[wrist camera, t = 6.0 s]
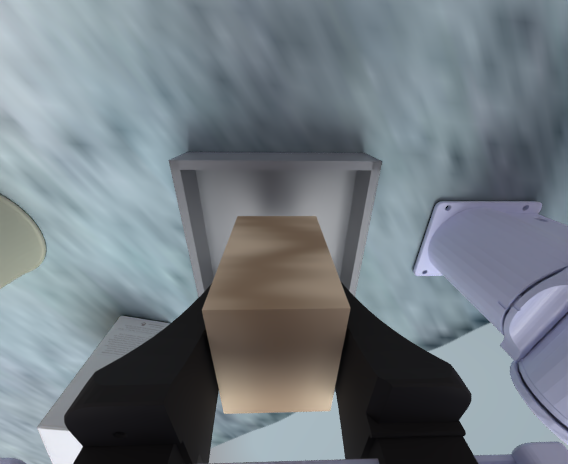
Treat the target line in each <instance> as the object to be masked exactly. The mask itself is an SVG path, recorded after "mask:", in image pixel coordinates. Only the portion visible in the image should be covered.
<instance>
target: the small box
mask: <svg viewBox="0 0 568 464" xmlns="http://www.w3.org/2000/svg"><path fill="white" fill-rule="evenodd" d="M168 325H170V323H165V322H159V321H152V320H146V319H140V318H134V317H128V316H120V317H119V318H118V320H117V321H116V322H115V324H114V325H113V326H112V328H111V329H110V330H109V332H108V333H107V334H106V336H105V337H104V338H103V340H102V341H101V342H100V344H99V345H98V346H97V348H96V349H95V350H94V352H93V353H92V354H91V356H90V357H89V358H88V360H87V361H86V362H85V364H84V365H83V366H82V368H81V369H80V370H79V372H78V373H77V374H76V376H75V377H74V378H73V380H72V381H71V382H70V384H69V385H68V386H67V388H66V389H65V390H64V392H63V393H62V394H61V396H60V397H59V398H58V400H57V401H56V403H55V404H54V405H53V406H52V408H51V409H50V410H49V412H48V413H47V414H46V416H45V417H44V418H43V420H42V421H41V422H40V424H39V425H38V426H37V429H38V431H39V433H40V436H41V438H42V440H43V443H44V445H45V447H46V450H47V452H48V454H49V457H50V459H51V462H52V464H73V463H74V461H75V459H76V458H77V456H78V454H79V452H80V451H81V449H82V447H83V446H82V445H81V444H80V443H79V442H78V440H77V439H76V438H75V437H74V436H73V435H72V434H71V432H70V431H69V430H68V429H67V427H66V426H65V423H64V415H65V413H66V412H67V410H68V409H69V408H70V406H71V405H72V403H73V402H74V400H75V399H76V397H77V396H78V394H79V393H80V392H81V390H82V389H83V387H84V386H85V384H86V383H87V382H88V380H89V379H90V378H91V376H92V375H93V374H94V372H95V371H97V370H99V369H101V368H103V367H105V366H106V365H108V364H110V363H112V362H113V361H115V360H117V359H119V358H121V357H122V356H124V355H126V354H127V353H129V352H131V351H132V350H134V349H135V348H137V347H139V346H140V345H142V344H143V343H145V342H146V341H148V340H149V339H151V338H152V337H153V336H155V335H156V334H157V333H159V332H160V331H161V330H163V329H164V328H166V327H167V326H168Z"/></svg>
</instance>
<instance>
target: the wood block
mask: <svg viewBox="0 0 568 464" xmlns="http://www.w3.org/2000/svg"><path fill="white" fill-rule="evenodd" d="M202 313H203V318H204V323H205V327H206V332H207V336H208V341H209V346H210V350H211V355H212V360H213V364H214V369H215V374H216V378H217V383H218V388H219V392H220V397H221V402H222V406H223V411H224V414H233V413H272V412H312V411H330V409H331V404H332V400H333V395H334V389H335V384H336V379H337V374H338V369H339V364H340V359H341V354H342V349H343V344H344V339H345V334H346V329H347V324H348V319H349V314H350V305H349V303H348V300H347V297H346V295H345V292H344V289H343V287H342V284H341V281H340V279H339V276H338V273H337V271H336V268H335V265H334V263H333V260H332V257H331V255H330V252H329V249H328V246H327V244H326V241H325V238H324V236H323V233H322V230H321V228H320V225H319V222H318V220H317V217H316V216H237V219H236V222H235V224H234V227H233V229H232V232H231V235H230V237H229V240H228V243H227V245H226V248H225V250H224V253H223V256H222V258H221V261H220V264H219V266H218V269H217V272H216V274H215V277H214V279H213V282H212V285H211V287H210V290H209V293H208V295H207V298H206V301H205V303H204V306H203V308H202Z"/></svg>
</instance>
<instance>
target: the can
mask: <svg viewBox="0 0 568 464" xmlns="http://www.w3.org/2000/svg"><path fill="white" fill-rule="evenodd" d="M45 255H46V244H45V240H44V237H43V235H42V233H41V231H40V230H39V228H38V226H37V225H36V224H35V222H34V221H33V220H32V219H31V218H30V216H29V215H27V214H26V213H25V212H24V211H23V210H22V209H21V208H20V207H18V206H17V205H16V204H14V203H13V202H12V201H10V200H8V199H7V198H5V197H4V196H2V195H0V289H1V288H2V287H4V286H6V285H7V284H9V283H10V282H12V281H14V280H15V279H17V278H19V277H20V276H22V275H24V274H25V273H28V272H30V271H32V270H34V269H36V268H37V267H39V266H40V264H41V263H42V262H43V260H44V258H45Z"/></svg>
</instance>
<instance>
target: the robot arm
mask: <svg viewBox="0 0 568 464" xmlns="http://www.w3.org/2000/svg"><path fill="white" fill-rule="evenodd" d="M446 206H448V208H446ZM445 208H446V209H445ZM541 208H542V203H540V202H537V201H441V202H438V203H437V204H436V205H435V207H434V210H433V213H432V216H431V219H430V222H429V225H428V228H427V231H426V234H425V237H424V240H423V243H422V246H421V249H420V252H419V255H418V258H417V261H416V264H415V267H414V270H413V272H414V274H415V275H416V276H444V277H445V278H446V279H447V280H448V281H449V282H450V283H451V284H452V285H453V286H454V287H455V288H456V289H457V290H458V291H459V292H460V293H461V294H462V295H463V296H464V297H465V298H466V299H467V300H468V301H470V302H471V303H472V304H473V305H474V306H475V307H476V308H477V309H478V310H479V311H480V312H481V313H482V314H483V315H484V316H485V317H486V318H487V319H488V320H489V321H490V322H491V323H492V324H493V325H494V326H495V327H496V328H497V329H498V330H499V331H500V332H501V333H502V334H503V335H504V336H505V337H504V340H503V342H502V343H501V344H500V346H501V347H502V348H503V349H504V350H505V351H506V352H507V353H508V355H509V356H511V358H512V359H513V360H514V361H513V362H512V363H511V366H510V375H511V379H512V381H513V383H514V385H515V387H516V389H517V391H518V392H519V394H520V395H521V397H522V398H523V400H524V401H525V402H526V404H527V405H528V407H529V408H530V409H531V410H532V412H533V413H534V414H535V415H536V416H537V417H538V419H539V420H540V421H541V422H542V423H543V424H544V425H546V427H547V428H548V429H550V430H551V431H552V432H553V433H554V434H555V435H556V436H558V437H559V438H560V439H561V440H562V441H563V442H565V443H566V444H567V445H568V226H567V225H565V224H562V223H560V222H557V221H555V220H552V219H550V218H547V217H544V216H542V215H539V214H538V213H539V212H540V210H541ZM424 270H425V271H424ZM341 284H342V287H343V289H344V292H345V295H346V297H347V300H348V303H349V305H350V314H349V319H348V324H347V329H346V334H345V339H344V344H343V349H342V354H341V359H340V364H339V369H338V374H337V379H336V384H335V389H336V395H337V402H338V408H339V415H340V422H341V429H342V436H343V444H344V452H345V459H344V460H314V461H312V460H311V461H279V462H246V463H214V464H568V450H567V449H566V447H565V446H564V445H563V444H562V443H560V442H531V443H525V444H521V445H519V446H517V447H516V448H515V449H514V450H513V452H512V454H507V455H475V456H474V455H473V453H472V452H471V450H470V448H469V447H468V444H467V443H466V441H465V439H464V438H463V436H465V434H466V433H465V430H464V428H463V427H462V425H461V423H460V421H459V419H460V418H461V416H462V415H463V414H464V412H465V411H466V410H467V408H468V406H469V405H470V402H471V393H470V391H469V390H468V388H467V387H466V385H465V384H464V382H463V381H462V379H461V378H460V376H459V375H458V374H457V372H456V371H455V369H454V368H453V367H452V366H451V364H449V363H447V362H445V361H443V360H442V359H439V358H438V357H436V356H434V355H432V354H431V353H429V352H427V351H425V350H423V349H422V348H420V347H419V346H417V345H415V344H414V343H412V342H410V341H409V340H407V339H406V338H404V337H403V336H401V335H400V334H398V333H397V332H396V331H394V330H393V329H391V328H390V327H389V326H387V325H386V324H385V323H383V322H382V321H381V320H380V319H378V318H377V317H376V316H375V315H374V314H372V313H371V312H370V311H369V310H368V309H367V308H366V307H364V306H363V305H362V304H361V303H360V302H359V301H358V300H357V299H356V298H355V297H354V295H353V294H352V293H351V292H350V291H349V290H348V289H347V288H346V287H345V286H344V284H343V283H342V282H341ZM211 285H212V283H211ZM211 285H210V286H209V287H208V288H207V289H206V290H205V291H204V292H203V294H202V295H201V296H200V297H199V298H198V299H197V300H196V301H195V302H194V303H193V304H192V305H191V306H190V307H189V308H188V309H187V310H186V311H185V312H184V313H182V314H181V315H180V316H179V317H178V318H177V319H176V320H174V321H173V322H172V323H171V324H170V325H168V326H167V327H166V328H164V329H163V330H161V331H160V332H159V333H157V334H156V335H155V336H153V337H152V338H151V339H149V340H148V341H146V342H145V343H143V344H142V345H140V346H139V347H137V348H135V349H134V350H132V351H131V352H129V353H127V354H126V355H124V356H122V357H121V358H119V359H117V360H115V361H113V362H112V363H110V364H108V365H106V366H105V367H103V368H101V369H99V370H97V371H95V372H94V374H93V375H92V376H91V378H90V379H89V380H88V382H87V383H86V384H85V386H84V387H83V389H82V390H81V392H80V393H79V394H78V396H77V397H76V399H75V400H74V402H73V403H72V405H71V406H70V408H69V409H68V410H67V412H66V413H65V415H64V423H65V426H66V427H67V429H68V430H69V431H70V432H71V434H72V435H73V436H74V437H75V438H76V439H77V440H78V442H79V443H80V444H81V445H82V446H83V447H82V449H81V451H80V452H79V454H78V456H77V458H76V459H75V461H74V463H73V464H208V463H209V455H210V447H211V440H212V432H213V425H214V418H215V411H216V404H217V398H218V391H219V388H218V383H217V378H216V374H215V369H214V364H213V360H212V355H211V350H210V346H209V341H208V336H207V332H206V327H205V323H204V318H203V313H202V308H203V306H204V303H205V301H206V298H207V295H208V293H209V290H210V287H211ZM0 464H26V463H25V462H23V461H21V460H19V459H15V458H0Z"/></svg>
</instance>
